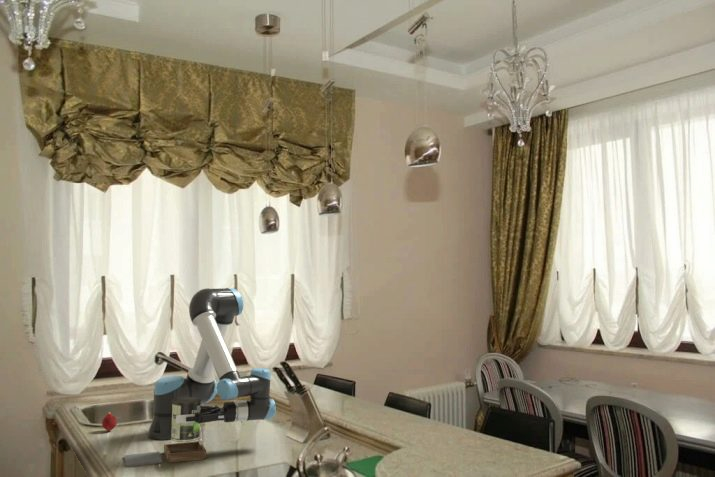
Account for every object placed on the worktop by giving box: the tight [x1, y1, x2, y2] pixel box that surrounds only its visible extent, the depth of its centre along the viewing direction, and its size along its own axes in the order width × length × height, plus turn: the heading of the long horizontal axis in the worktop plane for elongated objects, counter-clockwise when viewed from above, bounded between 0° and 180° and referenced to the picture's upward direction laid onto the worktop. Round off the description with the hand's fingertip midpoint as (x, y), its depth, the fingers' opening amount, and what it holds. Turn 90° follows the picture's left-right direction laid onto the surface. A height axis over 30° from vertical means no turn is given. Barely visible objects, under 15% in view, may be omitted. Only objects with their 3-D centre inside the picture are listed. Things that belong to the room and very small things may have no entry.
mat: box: [123, 451, 163, 468], centre depth 218 cm, size 12×12×1 cm
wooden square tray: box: [163, 440, 207, 464], centre depth 224 cm, size 13×13×3 cm
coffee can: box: [170, 397, 202, 443], centre depth 224 cm, size 10×10×14 cm
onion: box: [101, 411, 118, 432], centre depth 257 cm, size 6×6×8 cm
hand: (174, 415), depth 223 cm, fingers closed on coffee can, 10 cm apart
